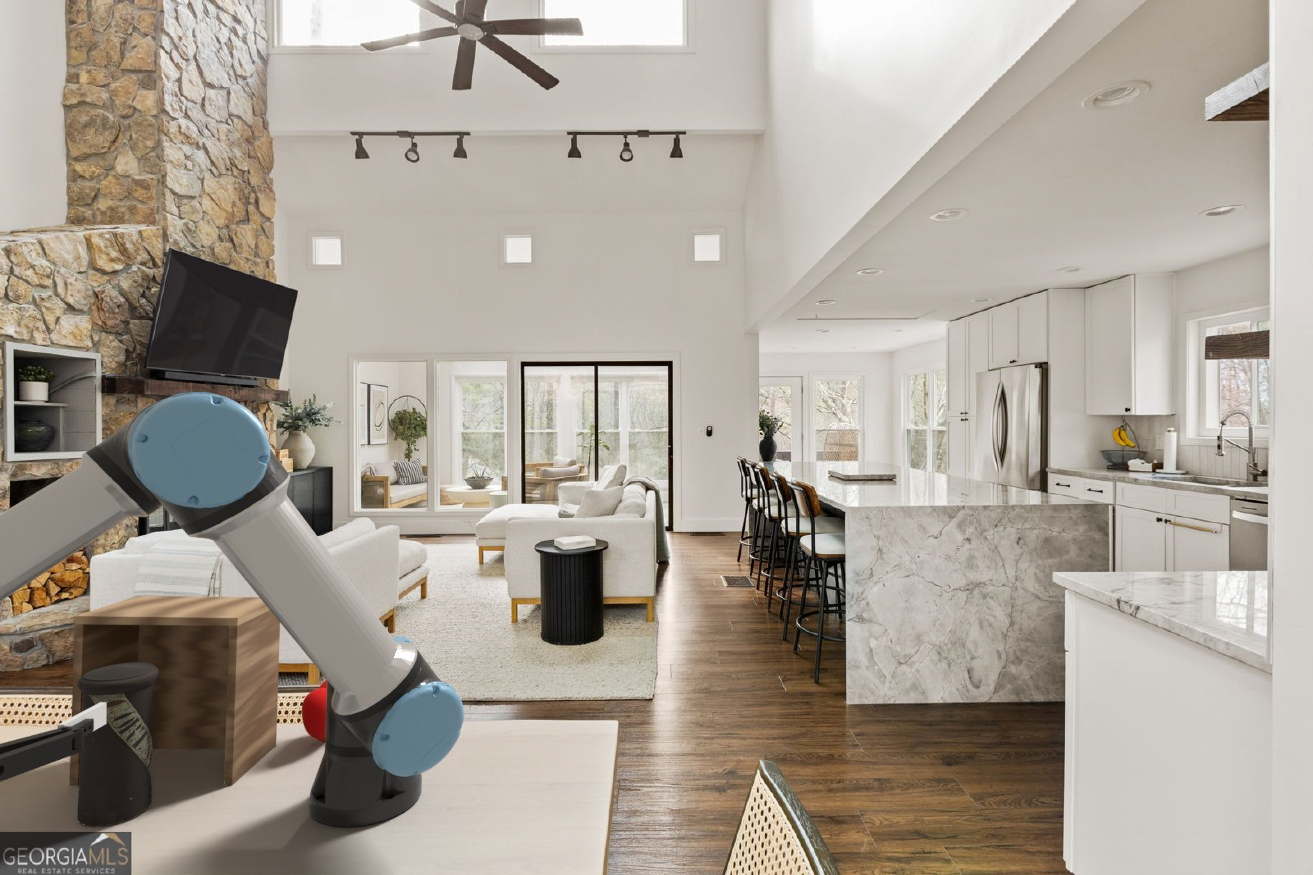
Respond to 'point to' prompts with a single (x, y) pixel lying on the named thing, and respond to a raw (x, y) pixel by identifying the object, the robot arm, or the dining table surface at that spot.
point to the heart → (315, 712)
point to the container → (117, 744)
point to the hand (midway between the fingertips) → (46, 713)
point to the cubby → (192, 671)
